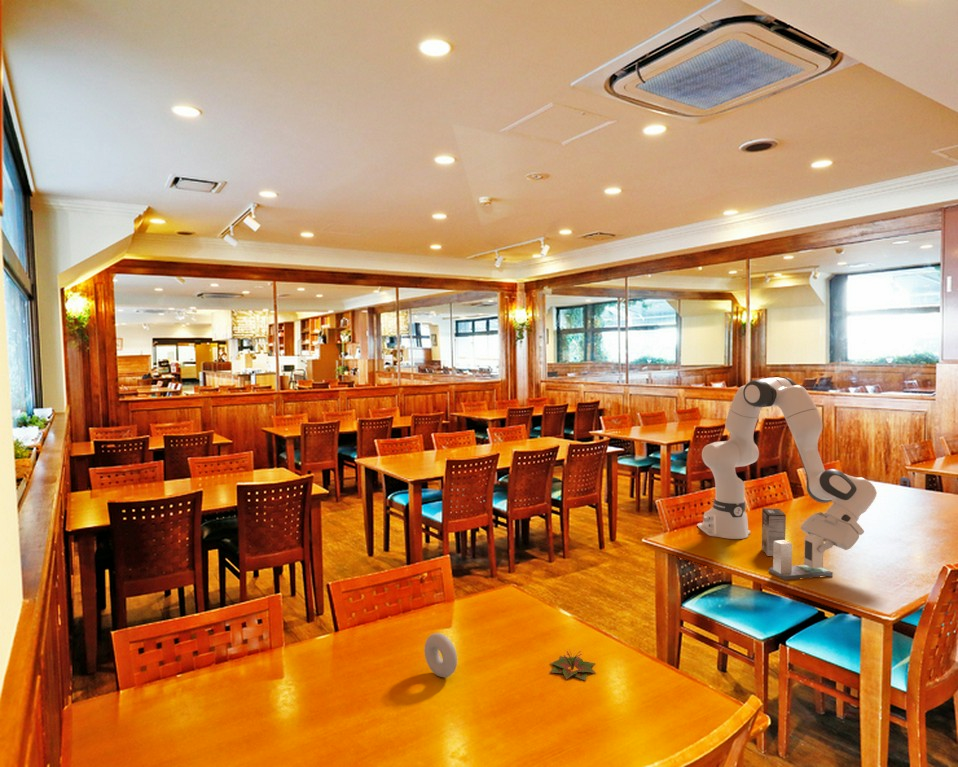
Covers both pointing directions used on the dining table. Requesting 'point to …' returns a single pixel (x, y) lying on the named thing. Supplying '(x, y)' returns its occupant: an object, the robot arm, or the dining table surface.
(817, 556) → the white box
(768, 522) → the coffee box
